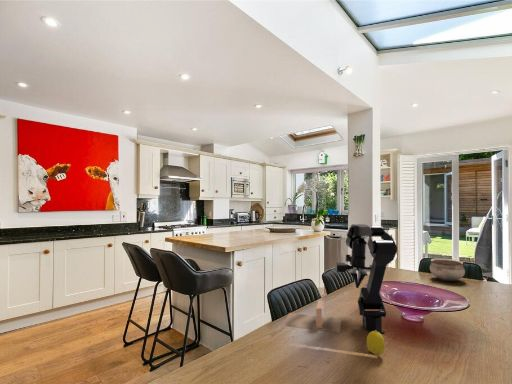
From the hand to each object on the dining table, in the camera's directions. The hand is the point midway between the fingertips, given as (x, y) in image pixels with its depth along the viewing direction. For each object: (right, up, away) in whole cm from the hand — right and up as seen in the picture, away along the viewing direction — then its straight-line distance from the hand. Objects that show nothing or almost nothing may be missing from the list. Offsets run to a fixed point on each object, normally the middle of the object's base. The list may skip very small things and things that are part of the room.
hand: (357, 287), depth 129 cm
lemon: (-6, -11, -34) cm, 36 cm away
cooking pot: (+78, -15, +58) cm, 98 cm away
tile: (-19, -11, -10) cm, 24 cm away
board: (-21, -12, -9) cm, 26 cm away
